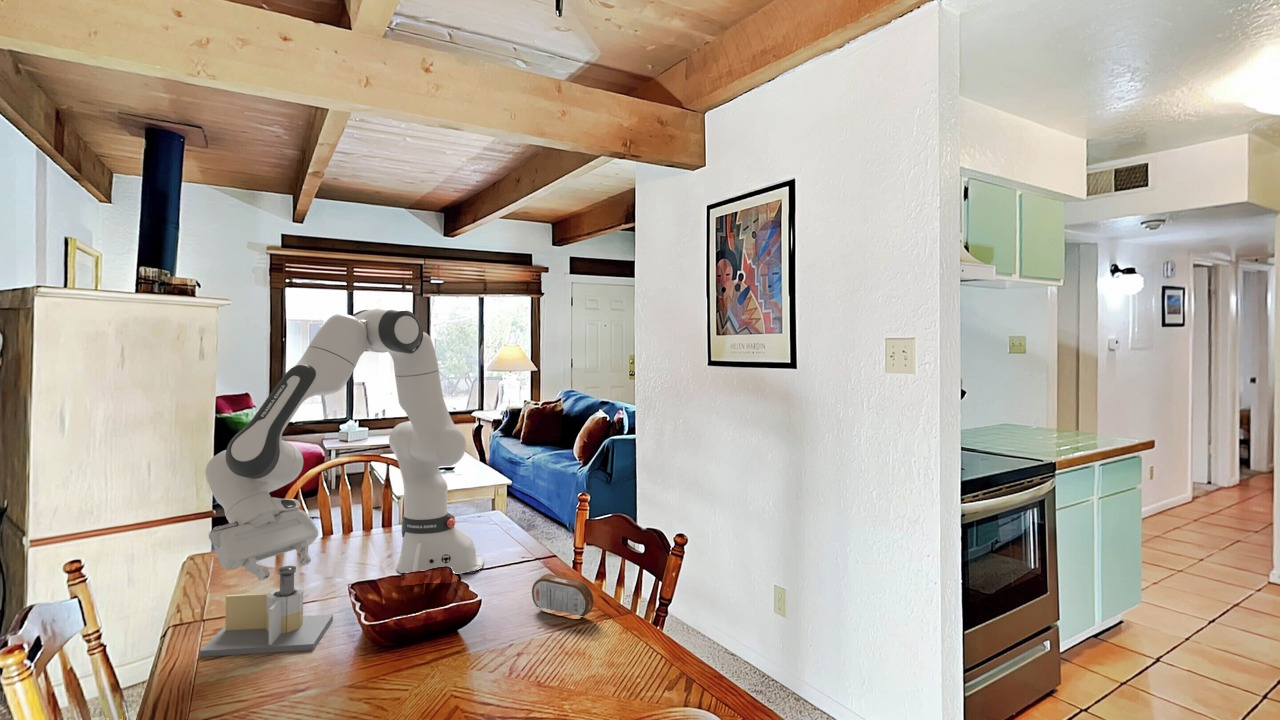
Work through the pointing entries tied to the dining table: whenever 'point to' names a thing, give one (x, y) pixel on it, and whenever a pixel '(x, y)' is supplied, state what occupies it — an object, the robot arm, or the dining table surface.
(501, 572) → the dining table surface
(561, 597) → the tin
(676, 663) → the dining table surface
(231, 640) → the hinge
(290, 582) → the hinge pin
